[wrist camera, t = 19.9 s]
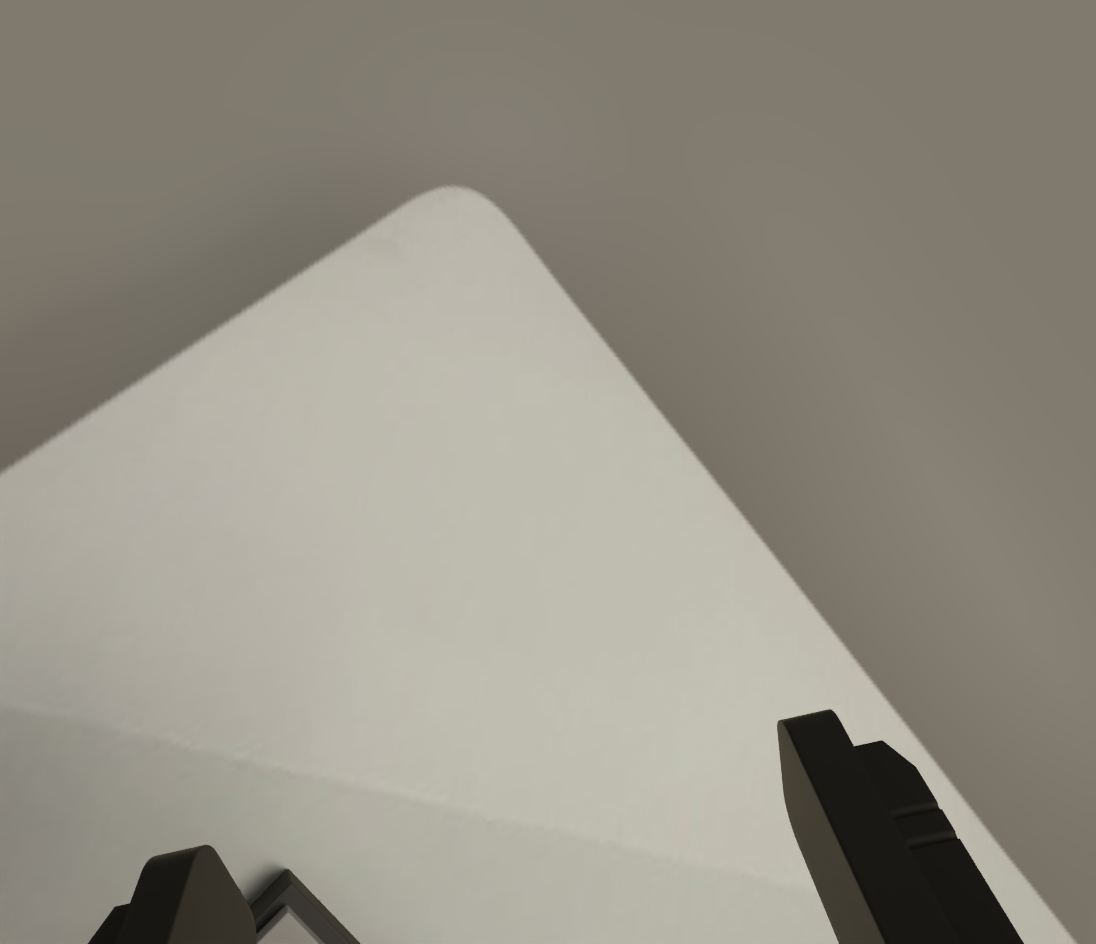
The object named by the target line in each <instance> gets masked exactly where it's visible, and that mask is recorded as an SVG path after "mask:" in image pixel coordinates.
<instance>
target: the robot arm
mask: <svg viewBox="0 0 1096 944" xmlns="http://www.w3.org/2000/svg"><path fill="white" fill-rule="evenodd" d="M777 730H778V740H779V751H780V761H781V772H782V782H783V792H784V798H785V803H786V808H787V812H788V816H789V819H790V823H791V826H792V829H793V832H794V835H795V838H796V840H797V843H798V845H799V848H800V850H801V852H802V855H803V857H804V860H805V862H806V865H807V867H808V869H809V872H810V874H811V877H812V879H813V881H814V884H815V886H816V889H817V891H818V894H819V896H820V898H821V901H822V903H823V906H824V908H825V911H826V913H827V915H828V918H829V920H830V923H831V925H832V928H833V930H834V932H835V935H836V937H837V940H838V942H839V944H1024V943H1023V941H1022V940H1021V938H1020V937H1019V935H1018V933H1017V932H1016V930H1015V928H1014V927H1013V925H1012V923H1011V922H1010V920H1009V919H1008V917H1007V915H1006V914H1005V912H1004V910H1003V909H1002V907H1001V905H1000V904H999V902H998V901H997V899H996V897H995V896H994V894H993V892H992V891H991V889H990V887H989V886H988V884H987V883H986V881H985V879H984V878H983V876H982V874H981V873H980V871H979V869H978V868H977V866H976V865H975V863H974V861H973V860H972V858H971V856H970V855H969V853H968V851H967V850H966V848H965V847H964V845H963V843H962V842H961V840H960V839H958V838H957V836H956V834H955V830H954V829H953V827H952V825H951V824H950V822H949V820H948V819H947V817H946V815H945V814H944V812H943V811H942V809H939V807H938V803H937V801H936V799H935V798H934V796H933V794H932V793H931V791H930V789H929V788H928V786H927V784H926V783H925V781H924V780H923V778H922V776H921V775H920V773H919V771H918V770H917V768H916V767H915V766H914V765H913V764H911V763H910V762H909V761H908V760H906V759H905V758H904V757H903V756H901V755H900V754H899V753H898V752H896V751H895V750H894V749H892V748H891V747H890V746H889V745H887V744H886V743H885V742H884V741H877V742H873V743H868V744H863V745H859V746H853V744H852V742H851V740H850V738H849V736H848V735H847V733H846V731H845V729H844V727H843V725H842V723H841V722H840V720H839V718H838V717H837V715H836V714H835V713H834V711H832V710H831V709H829V710H824V711H820V712H815V713H811V714H806V715H802V716H797V717H793V718H788V719H784V720H779V721H778V724H777ZM88 944H256V927H255V921H254V917H253V914H252V911H251V909H250V907H249V905H248V903H247V902H246V900H245V898H244V897H243V895H242V893H241V892H240V890H239V888H238V887H237V885H236V883H235V882H234V880H233V878H232V877H231V875H230V874H229V872H228V870H227V869H226V867H225V865H224V864H223V862H222V860H221V859H220V857H219V855H218V854H217V852H216V851H215V849H214V848H212V847H211V846H209V845H203V846H198V847H194V848H189V849H185V850H180V851H176V852H171V853H167V854H162V855H158V856H154V857H152V858H151V859H149V860H148V862H147V863H146V864H145V866H144V868H143V870H142V872H141V875H140V878H139V880H138V883H137V886H136V889H135V891H134V894H133V897H132V899H131V902H130V904H126V905H121V906H116V907H114V909H113V910H112V911H111V913H110V914H109V916H108V917H107V918H106V920H105V921H104V922H103V924H102V925H101V926H100V928H99V929H98V930H97V932H96V933H95V935H94V936H93V937H92V939H91V940H90V941H89V943H88Z"/></svg>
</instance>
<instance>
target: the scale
mask: <svg viewBox="0 0 1096 944" xmlns="http://www.w3.org/2000/svg"><path fill="white" fill-rule="evenodd" d="M250 909H251V911H252V914H253V917H254V921H255V927H256V944H360V943H359V942H358V941H357V940H356V939H355V938H354V937H353V936H352V935H351V933H350V932H349V931H348V930H347V929H346V928H345V927H344V926H343V925H342V924H341V923H340V922H339V921H338V920H337V919H336V918H335V917H334V916H333V915H332V914H331V913H330V912H329V911H328V910H327V908H326V907H325V906H324V905H323V904H322V903H321V902H320V901H319V900H318V899H317V898H316V897H315V896H314V895H313V894H312V893H311V892H310V891H309V890H308V889H307V888H306V887H305V886H304V885H303V883H302V882H301V881H300V880H299V879H298V878H297V877H296V876H295V875H294V874H293V873H292V872H291V871H290V870H289V869H288V870H286V871H285V872H284V873H283V874H282V875H281V876H280V877H279V878H278V879H277V880H276V881H275V882H274V883H273V884H272V885H271V886H270V887H269V888H268V889H267V890H266V891H265V892H264V893H263V894H262V895H261V896H260V897H259V898H258V899H257V900H256V901H255V902H254V903H253V904H252V905H251V906H250Z"/></svg>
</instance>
